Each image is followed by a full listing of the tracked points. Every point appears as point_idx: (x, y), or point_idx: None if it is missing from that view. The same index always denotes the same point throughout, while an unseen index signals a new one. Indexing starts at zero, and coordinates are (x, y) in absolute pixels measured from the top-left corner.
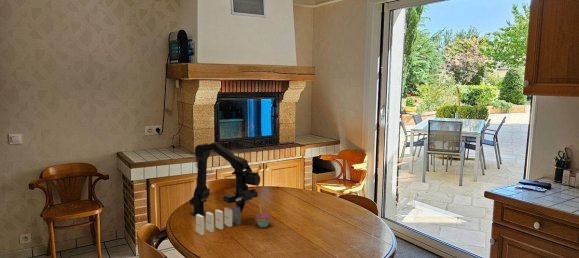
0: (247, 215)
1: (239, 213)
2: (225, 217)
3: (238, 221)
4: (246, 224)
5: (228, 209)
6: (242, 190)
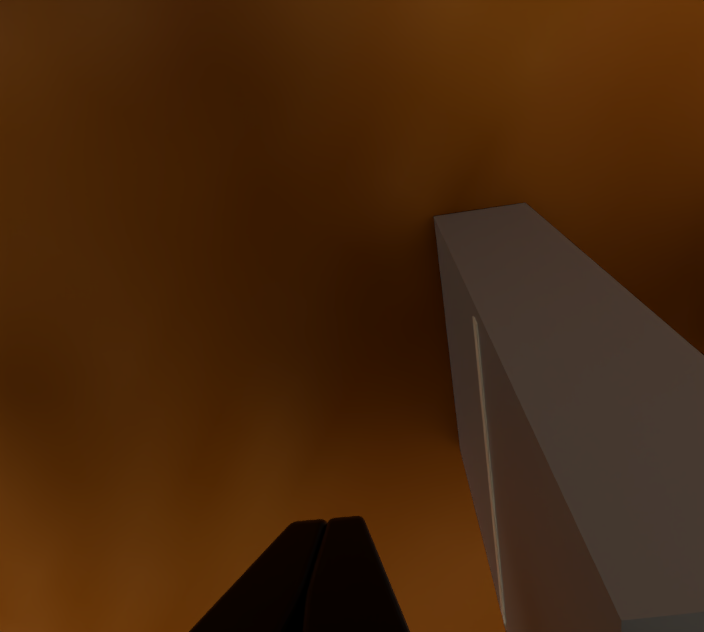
0: (46, 617)
1: (560, 344)
2: None
3: (544, 227)
4: (312, 91)
5: None
6: None
